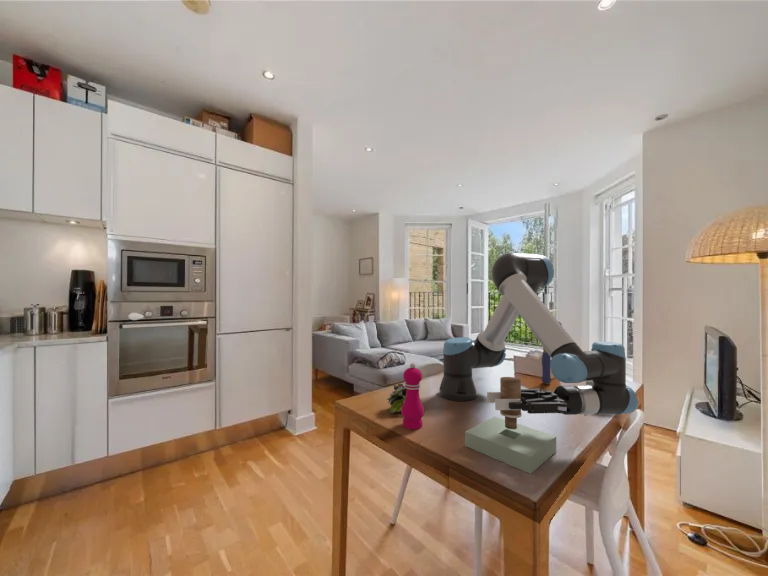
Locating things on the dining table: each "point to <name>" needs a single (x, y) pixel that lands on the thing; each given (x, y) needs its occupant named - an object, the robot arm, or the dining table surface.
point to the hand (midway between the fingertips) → (491, 400)
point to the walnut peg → (510, 390)
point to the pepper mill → (412, 399)
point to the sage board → (511, 444)
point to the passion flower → (397, 398)
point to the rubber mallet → (546, 367)
